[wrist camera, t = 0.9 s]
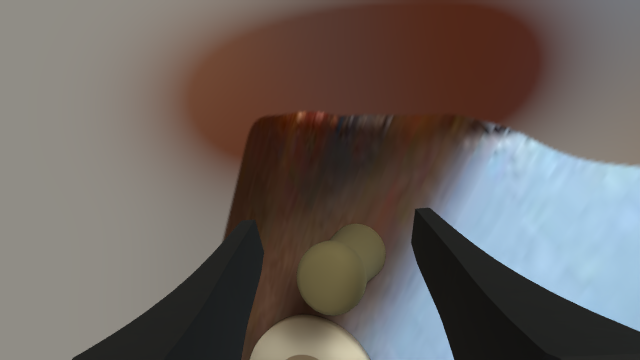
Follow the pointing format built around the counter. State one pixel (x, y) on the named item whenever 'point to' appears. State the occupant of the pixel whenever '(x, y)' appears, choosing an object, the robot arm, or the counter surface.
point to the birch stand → (308, 341)
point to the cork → (340, 269)
